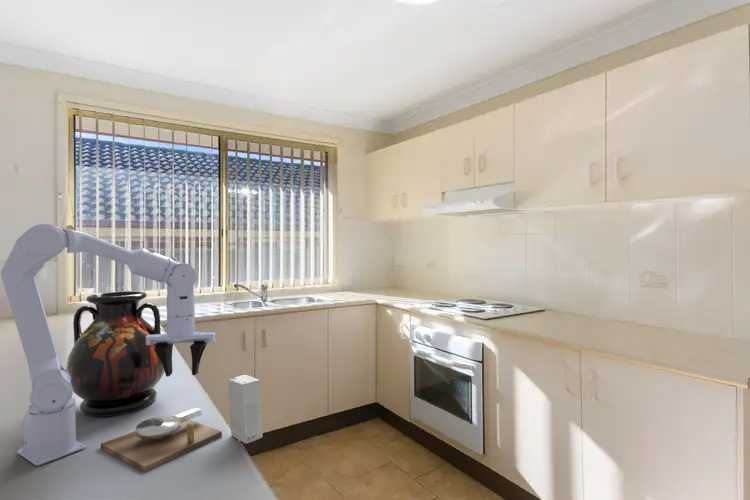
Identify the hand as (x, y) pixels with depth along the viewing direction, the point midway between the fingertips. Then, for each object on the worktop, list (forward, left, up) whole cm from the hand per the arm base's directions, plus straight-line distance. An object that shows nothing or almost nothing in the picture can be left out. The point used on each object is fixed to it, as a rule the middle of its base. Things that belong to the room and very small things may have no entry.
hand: (182, 374), depth 95 cm
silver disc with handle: (+6, -7, -8) cm, 12 cm away
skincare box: (+19, +2, -11) cm, 22 cm away
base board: (+7, -9, -10) cm, 15 cm away
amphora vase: (-22, -3, -11) cm, 25 cm away
